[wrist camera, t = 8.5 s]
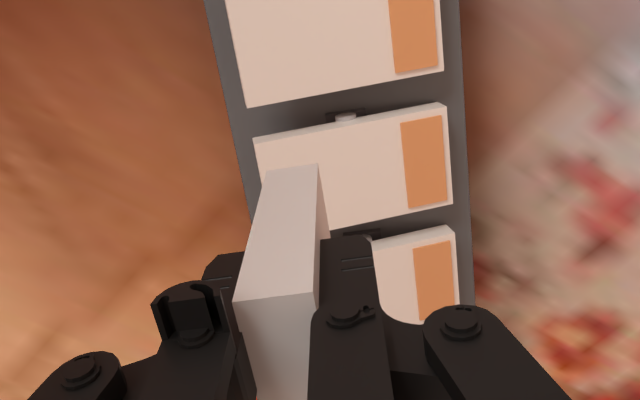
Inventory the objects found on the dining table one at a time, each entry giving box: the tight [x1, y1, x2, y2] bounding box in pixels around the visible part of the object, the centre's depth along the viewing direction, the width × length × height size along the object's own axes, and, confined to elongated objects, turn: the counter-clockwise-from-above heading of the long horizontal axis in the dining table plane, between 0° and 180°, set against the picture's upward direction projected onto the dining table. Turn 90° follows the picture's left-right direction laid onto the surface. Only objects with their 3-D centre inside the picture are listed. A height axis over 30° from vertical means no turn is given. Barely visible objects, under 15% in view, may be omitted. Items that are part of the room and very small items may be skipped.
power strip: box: [204, 0, 475, 325], centre depth 37 cm, size 14×31×6 cm, turn 8°
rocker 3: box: [362, 224, 460, 325], centre depth 37 cm, size 11×6×2 cm, turn 99°
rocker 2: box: [252, 102, 453, 231], centre depth 34 cm, size 11×6×2 cm, turn 99°
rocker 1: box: [225, 0, 444, 108], centre depth 31 cm, size 11×6×2 cm, turn 99°
